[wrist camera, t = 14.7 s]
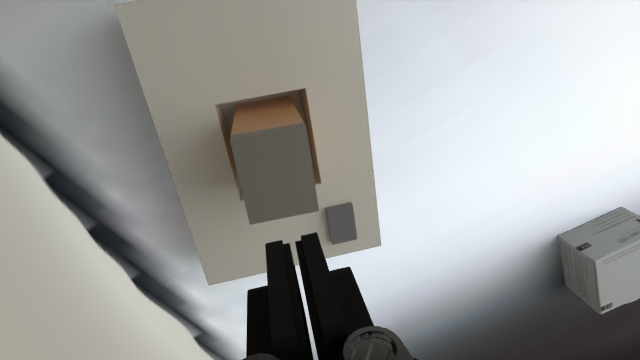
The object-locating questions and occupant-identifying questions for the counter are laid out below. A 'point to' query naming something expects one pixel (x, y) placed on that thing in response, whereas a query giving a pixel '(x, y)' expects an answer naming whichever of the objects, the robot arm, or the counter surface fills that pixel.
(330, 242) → the socket plate
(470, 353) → the counter surface
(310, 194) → the two-tone square block
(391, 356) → the robot arm
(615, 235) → the small box
